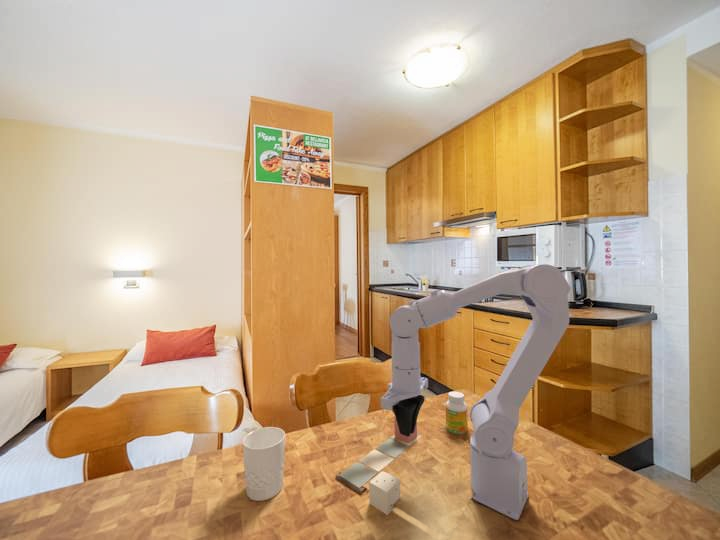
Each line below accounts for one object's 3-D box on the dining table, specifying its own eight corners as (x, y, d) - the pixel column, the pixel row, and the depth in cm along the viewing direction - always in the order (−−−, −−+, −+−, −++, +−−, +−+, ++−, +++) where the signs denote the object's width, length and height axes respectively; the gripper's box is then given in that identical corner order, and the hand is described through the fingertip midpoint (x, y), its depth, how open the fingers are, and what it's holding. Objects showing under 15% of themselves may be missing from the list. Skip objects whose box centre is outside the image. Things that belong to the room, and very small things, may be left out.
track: (424, 439, 74) (424, 436, 74) (361, 494, 56) (361, 490, 56) (400, 430, 79) (400, 427, 79) (335, 478, 61) (335, 474, 61)
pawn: (417, 436, 75) (416, 409, 75) (408, 443, 72) (408, 415, 72) (403, 430, 77) (403, 405, 77) (394, 437, 74) (394, 410, 74)
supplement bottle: (445, 435, 76) (445, 397, 77) (446, 425, 82) (445, 389, 82) (468, 438, 75) (467, 399, 75) (467, 427, 80) (466, 391, 80)
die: (400, 502, 54) (400, 479, 55) (387, 515, 51) (387, 492, 52) (382, 491, 57) (382, 470, 57) (369, 504, 54) (369, 481, 54)
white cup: (266, 470, 64) (266, 423, 64) (294, 483, 60) (293, 433, 60) (234, 494, 57) (233, 441, 57) (262, 510, 53) (262, 453, 53)
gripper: (408, 354, 69) (409, 413, 68) (367, 370, 58) (368, 441, 57) (436, 360, 64) (437, 423, 64) (398, 378, 53) (399, 455, 53)
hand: (406, 433), depth 60 cm, fingers closed
